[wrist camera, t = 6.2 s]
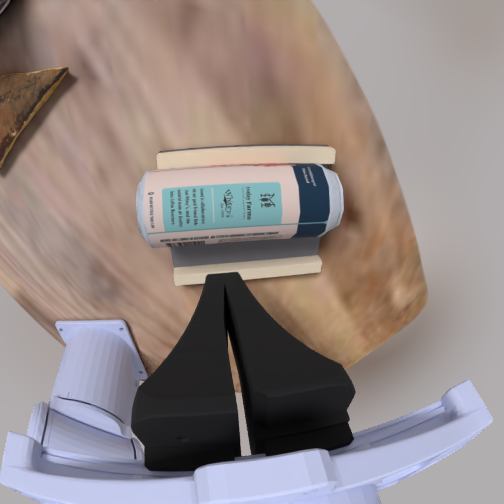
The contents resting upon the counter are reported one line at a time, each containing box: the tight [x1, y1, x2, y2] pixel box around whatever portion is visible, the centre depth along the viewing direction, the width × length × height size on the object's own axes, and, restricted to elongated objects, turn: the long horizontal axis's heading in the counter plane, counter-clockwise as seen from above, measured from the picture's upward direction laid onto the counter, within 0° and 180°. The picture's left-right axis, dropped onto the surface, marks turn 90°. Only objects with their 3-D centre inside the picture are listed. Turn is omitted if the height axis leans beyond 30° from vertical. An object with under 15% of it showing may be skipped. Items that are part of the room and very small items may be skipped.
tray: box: [157, 144, 336, 286], centre depth 21 cm, size 10×12×2 cm
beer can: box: [136, 163, 344, 248], centre depth 18 cm, size 5×5×12 cm
